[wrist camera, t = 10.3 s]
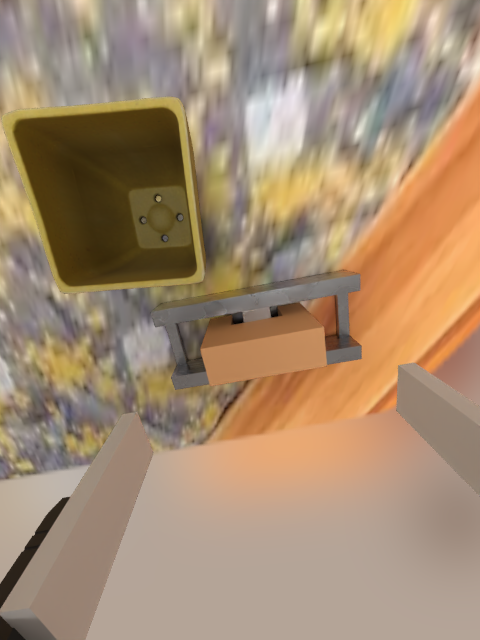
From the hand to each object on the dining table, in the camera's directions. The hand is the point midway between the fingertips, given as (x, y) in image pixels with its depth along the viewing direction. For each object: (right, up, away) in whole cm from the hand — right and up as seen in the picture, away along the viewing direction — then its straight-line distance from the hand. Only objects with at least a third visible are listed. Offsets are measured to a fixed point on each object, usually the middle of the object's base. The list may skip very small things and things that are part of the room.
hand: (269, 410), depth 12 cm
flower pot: (-8, +13, +9) cm, 18 cm away
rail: (0, +4, +12) cm, 13 cm away
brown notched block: (0, +4, +12) cm, 13 cm away
